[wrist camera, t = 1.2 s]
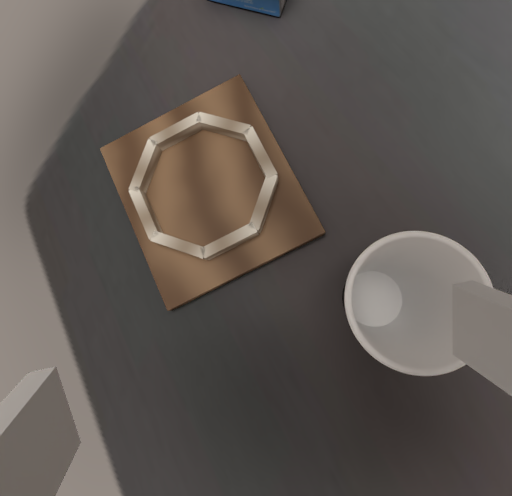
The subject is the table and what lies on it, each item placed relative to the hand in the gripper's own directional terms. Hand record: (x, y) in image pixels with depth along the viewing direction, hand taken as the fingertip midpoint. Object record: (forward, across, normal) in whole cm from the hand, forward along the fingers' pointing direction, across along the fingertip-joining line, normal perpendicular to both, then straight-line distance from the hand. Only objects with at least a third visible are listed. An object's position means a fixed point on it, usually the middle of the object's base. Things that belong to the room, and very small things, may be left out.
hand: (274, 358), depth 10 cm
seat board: (+23, -1, +5) cm, 24 cm away
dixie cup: (+16, +11, -6) cm, 20 cm away
